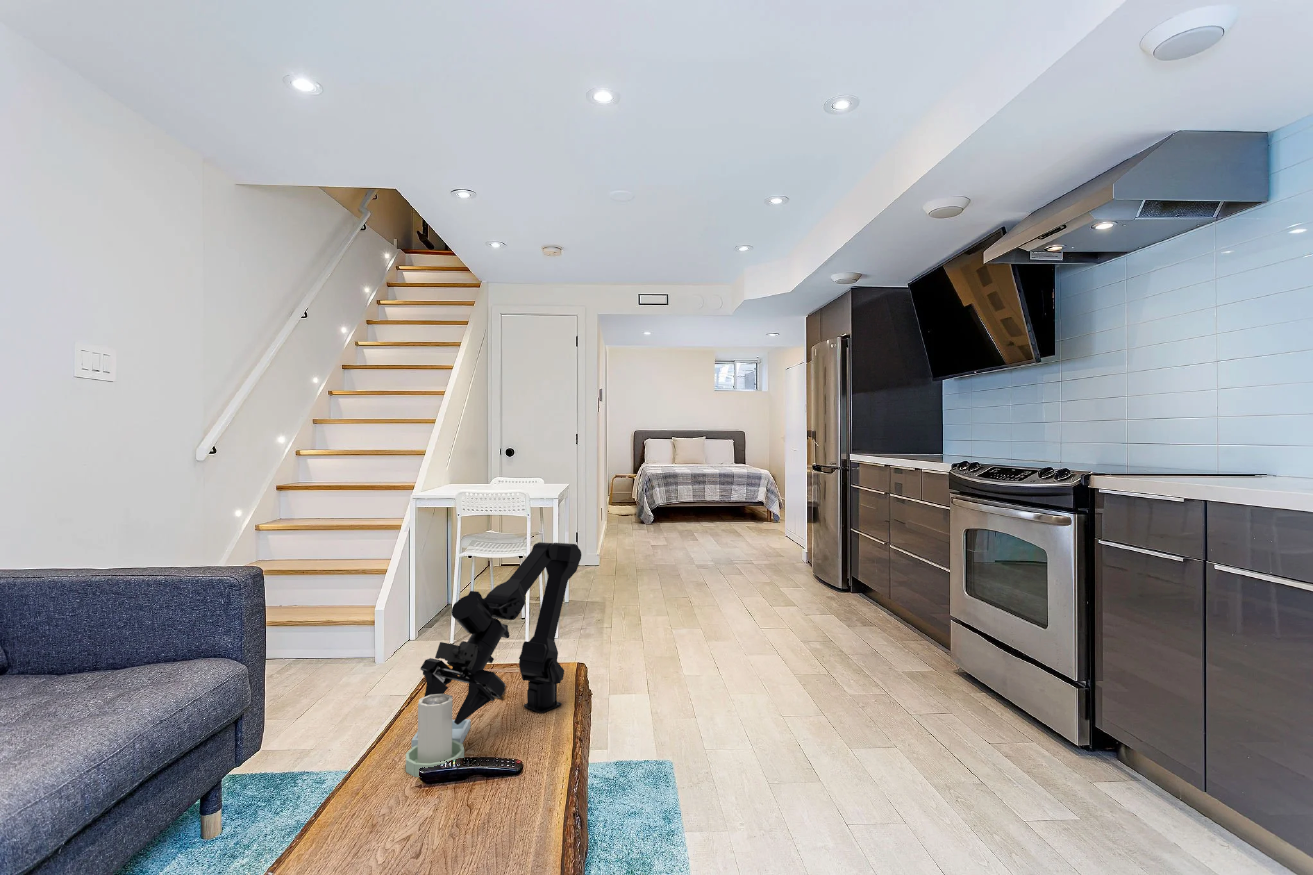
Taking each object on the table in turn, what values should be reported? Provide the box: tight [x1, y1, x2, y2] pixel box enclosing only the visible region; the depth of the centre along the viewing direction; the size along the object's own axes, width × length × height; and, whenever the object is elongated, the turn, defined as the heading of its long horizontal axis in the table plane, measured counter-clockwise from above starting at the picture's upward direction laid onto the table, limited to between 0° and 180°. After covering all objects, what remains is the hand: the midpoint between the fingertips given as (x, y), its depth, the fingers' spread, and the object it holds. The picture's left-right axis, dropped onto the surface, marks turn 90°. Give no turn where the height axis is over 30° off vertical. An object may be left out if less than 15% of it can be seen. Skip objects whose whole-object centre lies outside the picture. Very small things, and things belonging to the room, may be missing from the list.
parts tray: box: [410, 718, 472, 749], centre depth 134 cm, size 10×10×2 cm
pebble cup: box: [417, 693, 453, 763], centre depth 123 cm, size 6×6×12 cm
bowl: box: [405, 740, 465, 778], centre depth 123 cm, size 10×10×3 cm
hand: (438, 718), depth 124 cm, fingers open, 9 cm apart
